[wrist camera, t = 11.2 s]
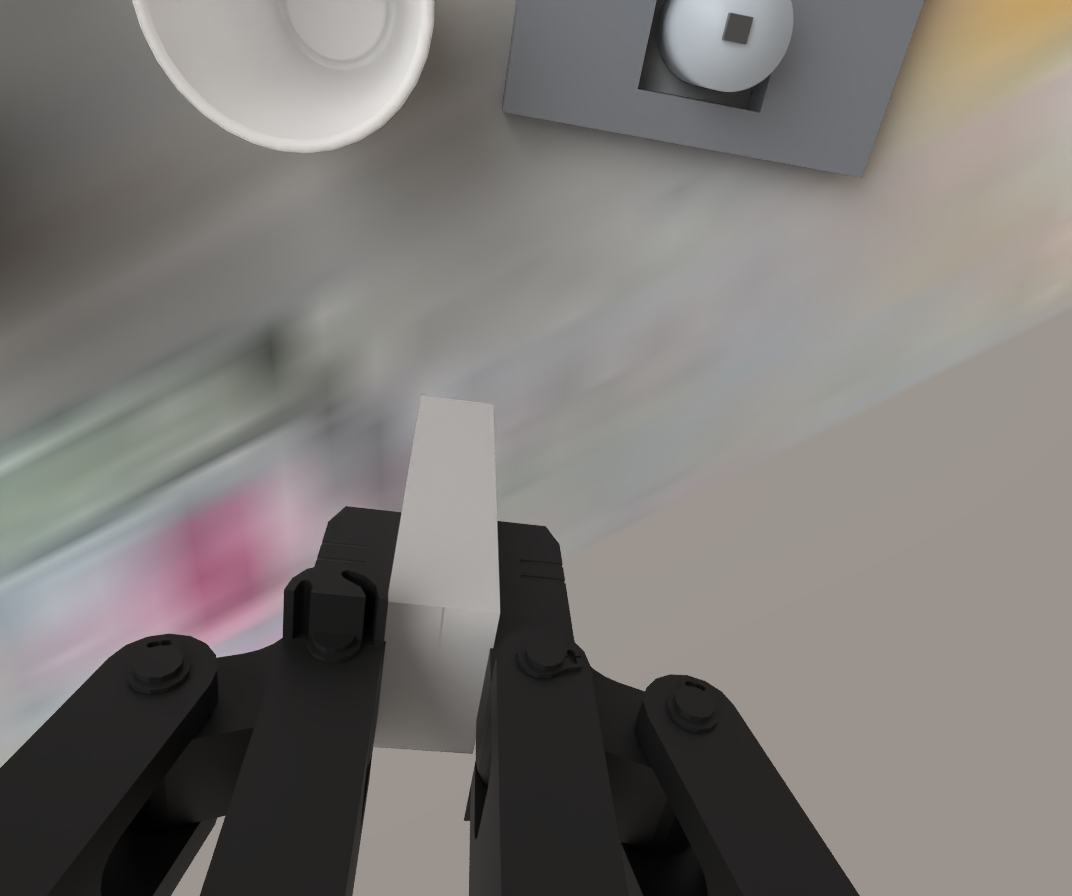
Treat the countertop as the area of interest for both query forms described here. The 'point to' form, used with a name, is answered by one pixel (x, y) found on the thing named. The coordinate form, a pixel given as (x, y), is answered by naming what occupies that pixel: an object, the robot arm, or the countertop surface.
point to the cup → (292, 64)
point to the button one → (724, 40)
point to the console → (758, 132)
